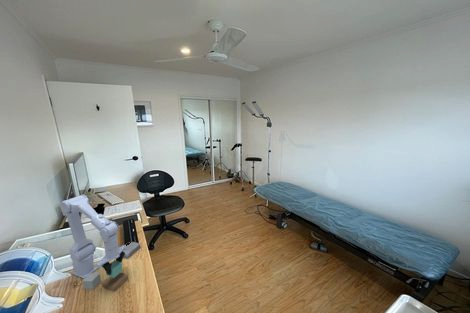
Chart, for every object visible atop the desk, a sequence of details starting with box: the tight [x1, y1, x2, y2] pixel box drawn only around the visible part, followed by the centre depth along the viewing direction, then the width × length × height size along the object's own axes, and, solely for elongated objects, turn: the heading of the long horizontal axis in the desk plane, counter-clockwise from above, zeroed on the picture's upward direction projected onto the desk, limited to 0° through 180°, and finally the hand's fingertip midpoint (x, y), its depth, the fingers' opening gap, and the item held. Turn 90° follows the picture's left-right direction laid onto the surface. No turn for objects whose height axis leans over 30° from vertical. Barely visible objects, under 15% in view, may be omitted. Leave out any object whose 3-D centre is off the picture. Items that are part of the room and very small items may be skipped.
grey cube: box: [82, 272, 102, 290], centre depth 96 cm, size 5×5×5 cm
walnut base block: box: [101, 272, 129, 292], centre depth 98 cm, size 8×8×3 cm
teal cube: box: [105, 259, 124, 278], centre depth 97 cm, size 5×5×5 cm
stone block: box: [123, 241, 141, 259], centre depth 121 cm, size 12×5×10 cm
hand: (114, 269), depth 97 cm, fingers closed on teal cube, 5 cm apart
